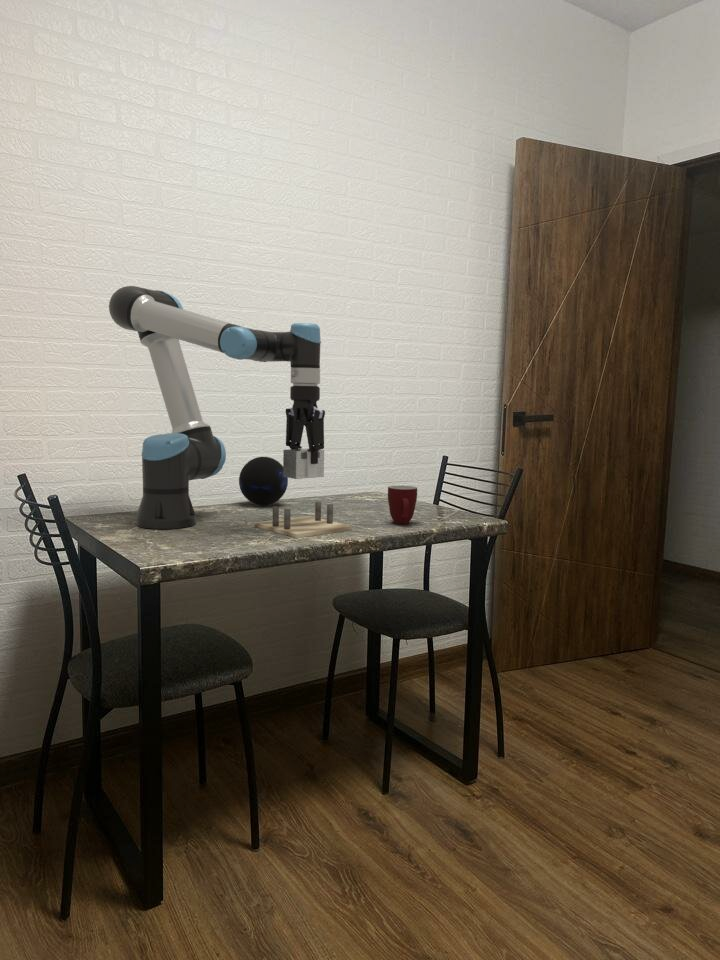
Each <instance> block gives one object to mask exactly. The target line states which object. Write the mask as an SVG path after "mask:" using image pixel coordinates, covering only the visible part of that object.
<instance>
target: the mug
mask: <svg viewBox="0 0 720 960" xmlns="http://www.w3.org/2000/svg"><path fill="white" fill-rule="evenodd" d="M417 497H418V487H416V486H411V485H400V484H399V485H389V486H387V502H388V507H389V513H390V516H391V519H392V521H393V523H394V524H396V525H402V524H403V525H409V524H410V522H411V521H412V518H413V516H414V513H415V511H416V510H415V509H416V505H417V500H418V499H417Z"/></svg>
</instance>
